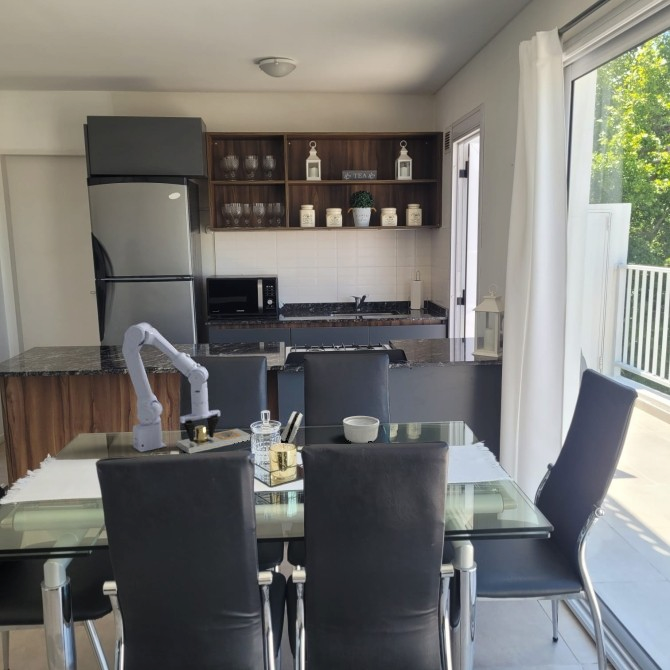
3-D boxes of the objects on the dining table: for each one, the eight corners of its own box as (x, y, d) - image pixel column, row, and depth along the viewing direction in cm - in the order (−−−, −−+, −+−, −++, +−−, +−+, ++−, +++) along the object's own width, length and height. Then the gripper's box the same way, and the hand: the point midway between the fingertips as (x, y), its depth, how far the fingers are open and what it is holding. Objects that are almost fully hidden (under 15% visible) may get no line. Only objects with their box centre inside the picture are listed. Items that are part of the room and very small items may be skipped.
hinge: (285, 429, 226) (293, 405, 225) (296, 433, 226) (304, 410, 224) (277, 443, 210) (286, 417, 208) (289, 447, 209) (298, 422, 208)
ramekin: (382, 434, 218) (382, 416, 217) (375, 445, 205) (375, 426, 204) (347, 432, 221) (347, 414, 220) (339, 443, 209) (339, 424, 208)
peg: (198, 448, 204) (198, 429, 203) (194, 445, 207) (193, 426, 207) (209, 446, 207) (208, 427, 206) (204, 443, 210) (203, 424, 209)
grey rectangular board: (189, 453, 199) (188, 447, 199) (177, 446, 207) (177, 440, 206) (250, 439, 213) (250, 434, 213) (237, 433, 221) (237, 428, 221)
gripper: (184, 407, 197) (186, 445, 199) (223, 400, 206) (225, 437, 208) (176, 403, 203) (178, 440, 205) (214, 396, 212) (216, 433, 214)
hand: (201, 438), depth 207 cm, fingers open, 7 cm apart
